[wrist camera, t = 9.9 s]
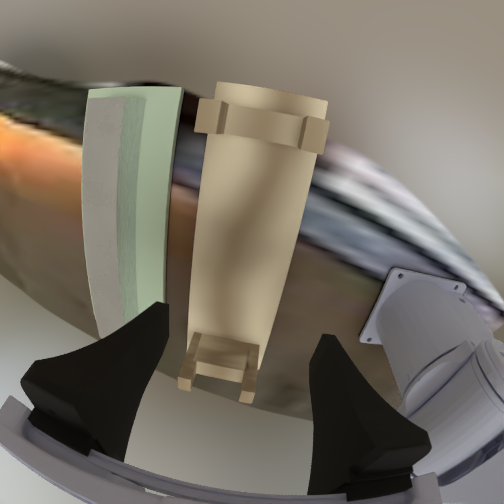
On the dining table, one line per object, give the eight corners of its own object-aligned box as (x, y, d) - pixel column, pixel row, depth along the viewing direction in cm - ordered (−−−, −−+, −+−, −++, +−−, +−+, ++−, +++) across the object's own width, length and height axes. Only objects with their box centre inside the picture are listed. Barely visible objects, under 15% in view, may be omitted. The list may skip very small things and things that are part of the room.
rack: (324, 103, 16) (349, 90, 10) (259, 360, 26) (255, 414, 20) (220, 84, 16) (193, 63, 10) (189, 346, 26) (171, 397, 20)
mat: (184, 88, 16) (181, 87, 15) (165, 336, 25) (164, 340, 25) (93, 89, 16) (89, 89, 15) (98, 316, 25) (95, 319, 25)
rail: (111, 100, 16) (88, 98, 13) (146, 99, 16) (125, 96, 13) (113, 318, 24) (99, 337, 22) (139, 326, 24) (127, 347, 22)
